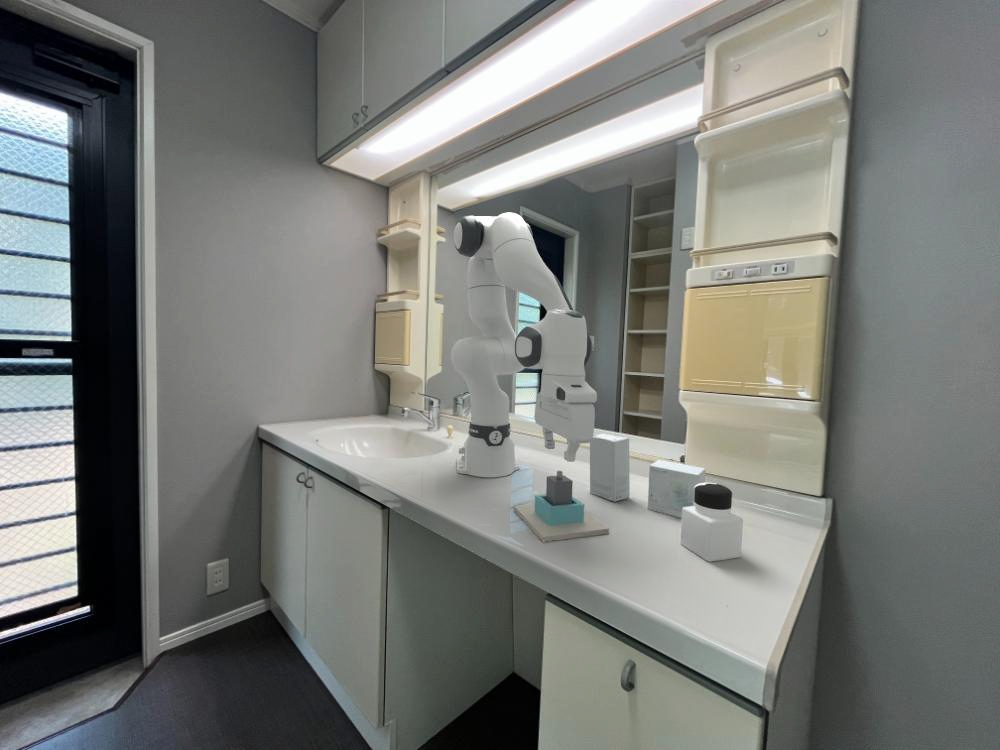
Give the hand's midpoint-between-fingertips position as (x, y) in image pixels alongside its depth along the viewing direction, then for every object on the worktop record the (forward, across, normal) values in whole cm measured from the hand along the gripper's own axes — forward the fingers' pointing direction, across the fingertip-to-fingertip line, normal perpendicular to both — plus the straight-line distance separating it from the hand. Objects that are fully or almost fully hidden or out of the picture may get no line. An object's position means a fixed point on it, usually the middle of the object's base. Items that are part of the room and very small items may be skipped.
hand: (558, 454), depth 86 cm
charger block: (+13, +1, 0) cm, 13 cm away
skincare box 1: (+14, -10, +19) cm, 26 cm away
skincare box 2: (+14, +3, +28) cm, 32 cm away
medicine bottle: (+14, +20, +21) cm, 32 cm away
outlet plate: (+14, +1, 0) cm, 14 cm away
